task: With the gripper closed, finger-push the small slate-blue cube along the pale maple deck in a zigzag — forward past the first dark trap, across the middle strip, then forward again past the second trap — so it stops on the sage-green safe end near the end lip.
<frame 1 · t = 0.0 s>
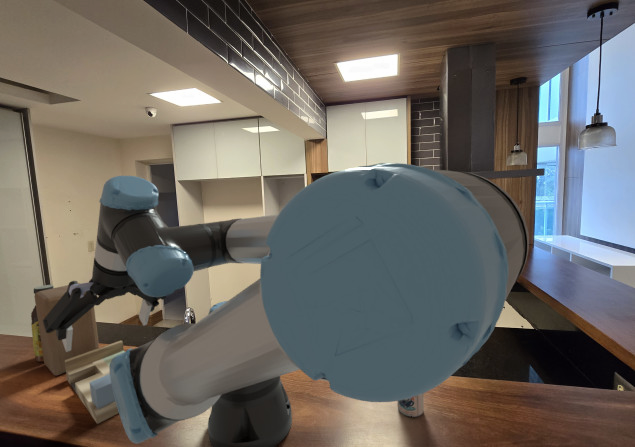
hand: (107, 332, 64), 15 cm above the countertop, tool tilted 35°, fingers open, 13 cm apart
beer can: (410, 410, 59), on the countertop
cube: (106, 399, 62), point 2 cm above the countertop, touching deck
deck: (113, 386, 71), on the countertop
sauce bottle: (51, 357, 85), on the countertop
block: (73, 363, 82), on the countertop
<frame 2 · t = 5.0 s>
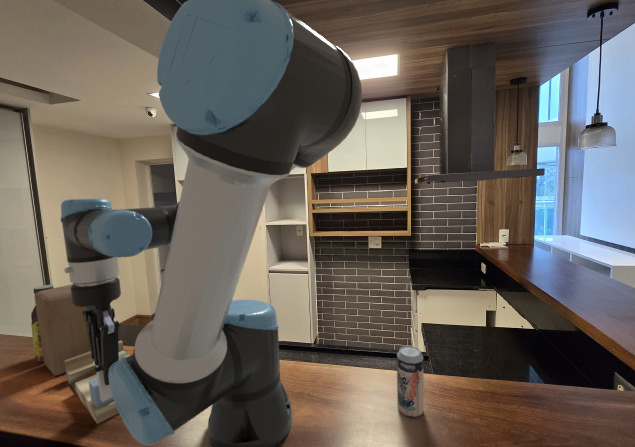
hand: (109, 396, 61), 4 cm above the countertop, tool pointing down, fingers closed
cube: (105, 398, 62), point 3 cm above the countertop, touching gripper
everything else where it was.
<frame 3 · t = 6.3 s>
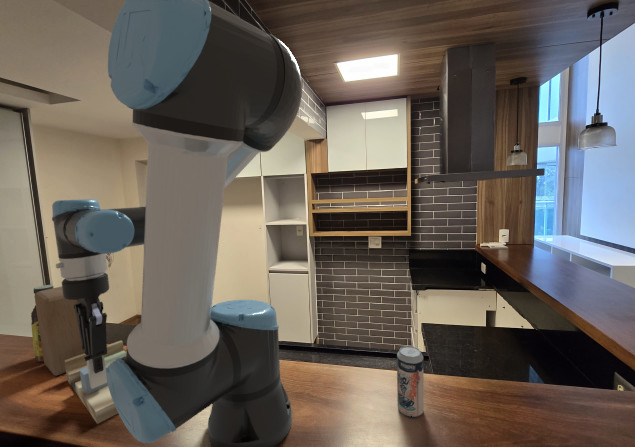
hand: (98, 384, 65), 4 cm above the countertop, tool pointing down, fingers closed
cube: (95, 386, 67), point 2 cm above the countertop, touching deck
everything else where it was.
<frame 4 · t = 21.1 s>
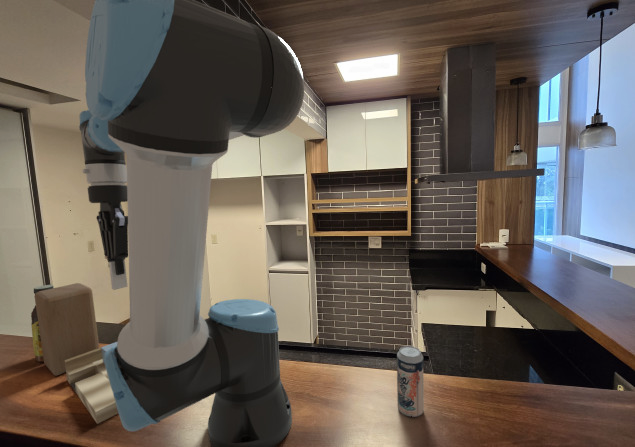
hand: (119, 287, 71), 22 cm above the countertop, tool pointing down, fingers closed
cube: (115, 361, 76), point 2 cm above the countertop, touching deck
everything else where it was.
at the end: cube 1.3 cm from the target spot, point 2.5 cm above the countertop; cube point 2.5 cm above the countertop; cube tilted 0° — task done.
